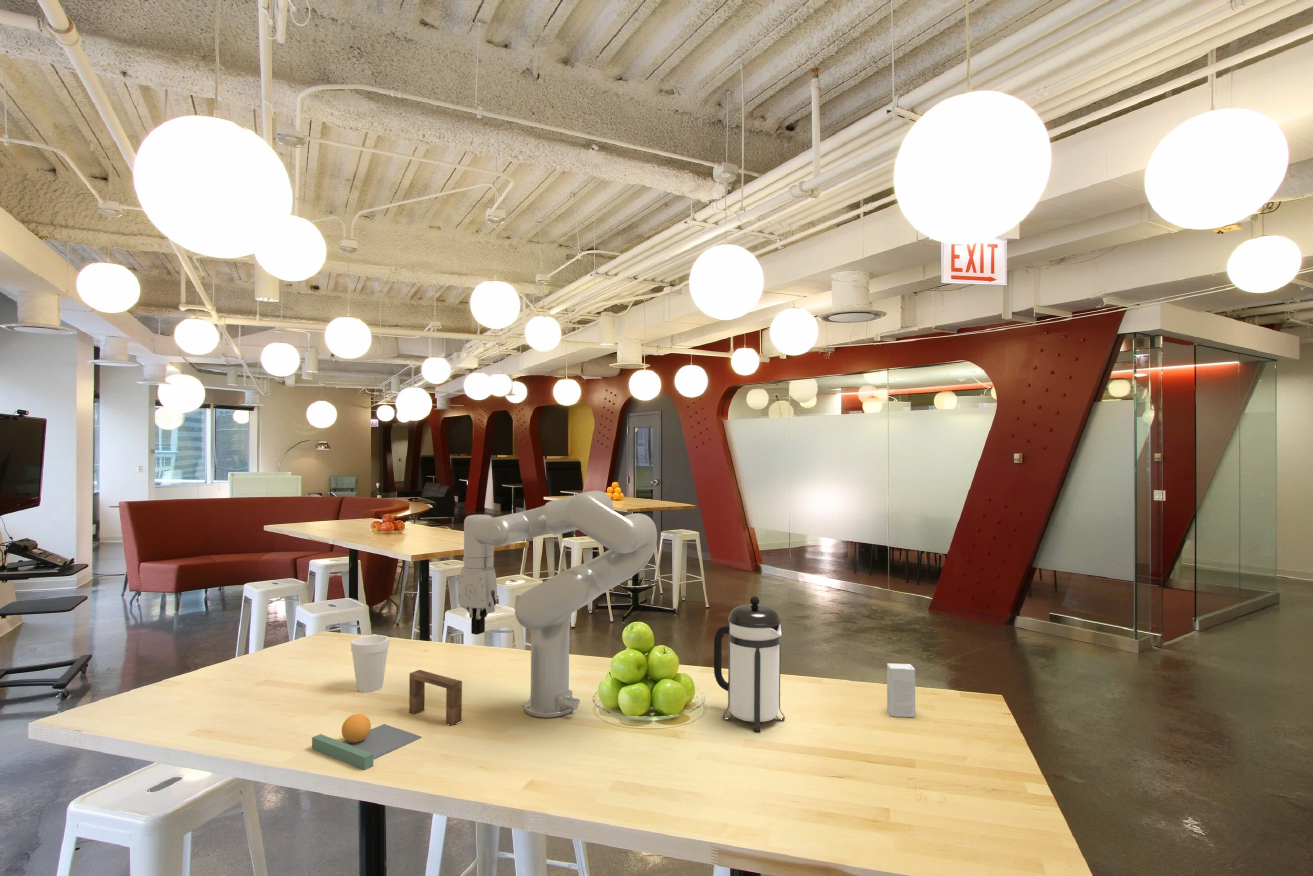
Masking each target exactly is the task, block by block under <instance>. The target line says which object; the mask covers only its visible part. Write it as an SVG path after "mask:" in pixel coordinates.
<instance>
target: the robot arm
mask: <svg viewBox="0 0 1313 876" xmlns="http://www.w3.org/2000/svg"><path fill="white" fill-rule="evenodd" d="M574 531H580V532H581V533H582V534H584V535H586V536H587V537H589V538H590V539H592V540H594V541H596V542H597V543H598V544H600V545H601V546H604V547H605V548H607V549H608V550H606V551H605V552H603V553H601V554H599V556H598V555H597V556H596V557H594V558H591V560H588V561H586V562H585V563H581V564H578V565H575V566H573V567H570V568H567V569H566V570H563V571H562V572H559V573H557V574H555V575H553V576H552V577H550V578H548V579H547V580H544V581H543V582H541V583H539V584H537V585H535V586H534V587H532V588H530V589H528V590H527V591H525V592H523V593H522V594H521V595H520V596H519V597H518V598H517V601H516V604H515V607H514V614H515V618H516V621H517V622H518V623H519V625H521V626H522V627H523V628H525V629H528V630H531V635H530V637H531V638H530V641H531V642H530V698H529V699H528V700H526V702H524V704H523V705H524V706H523V709H524V712H525V713H526V714H528V715H530V716H532V717H537V718H545V719H546V718H557V717H561V716H565V715H568V714H569V713H572V711H577V710H578V707H579V704H580V702H581V699H580V698H578V697H573V690H571V689H570V632H571V630H570V629H571V619H572V614H573V613H574V612H576V611H578V610H580V609H581V608H583V607H585V606H587V605H588V604H590V603H591V602H594V600H595V599H597V598H599V597H600V596H601V595H603V594H604V593H607V592H608V591H610V590H611V589H613V588H615V587H617V586H619V585H620V584H623V582H625V581H627V580H629V579H630V578H632V577H634V576H635V575H636V574H638V573H639V572H640V571H642V570H643V568H645V567H646V565H648V563H649V561H650V560H651V558H652V556H653V555H654V553H655V550H656V548H657V547H656V546H657V541H658V531H657V526H656V524H655V522H654V520H653V519H652V518H651V517H650V516H648V515H647V514H643V513H639V512H637V513H631V514H626V515H624V516H623V515H622V514H620V513H618V512H617V511H615V510H614V504H613V501H612V499H611V498H610V496H609V494H607V493H605V492H604V491H601V490H589V491H585V492H581V493H580V492H579V493H577V494H576V495H575V494H574V495H571V496H568V497H562V498H558V499H554V500H551V501H548V502H546V503H545V504H544V505H542V506H539V507H536V508H531V509H528V510H524V511H519V512H515V513H509V514H504V515H500V516H495V517H492V516H491V515H489V514H472V515H468V516H466V517H465V518H464V522H463V557H462V561H463V566H462V567H461V569H460V573H459V580H458V589H457V590H458V592H457V603H458V604H459V605H460V606H461V607H462V608H463V609H464V610H466V611H467V612H468V615H469V618H470V619H471V623H470V624H471V626H470V627H471V628H470V629H471V630H470V631H471V634H472V635H480V634H484V633H485V631H486V618H487V616H488V614H492V613H495V612H496V608H495V607H496V605H497V602H498V584H497V583H498V581H497V574H496V570H495V568H494V555H495V554H494V552H495V550H494V549H495V547H505V546H509V545H511V544H514V543H519V542H523V541H526V540H530V539H533V538H538V537H541V536H548V535H553V536H558V535H562V534H566V533H569V532H574Z"/></svg>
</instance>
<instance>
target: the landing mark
mask: <svg viewBox="0 0 1313 876" xmlns="http://www.w3.org/2000/svg"><path fill="white" fill-rule="evenodd" d="M421 738H422V736H421V735H418V734H416V733H412V732H410V731H407V730H403V729H400V728H397V727H394V726H391V725H388V724H386V723H383V724H381V725H379V726H376V727H373V728H371V729H370V732H369V734H368V736H367V737H366V738H365V739H364V740H362V741H360V742H357V743H351V742H348V741H346V740H345V739H344V740H340V742H343V743H346V744H348V745H351V746H354V747H356V748H359V749H362V750H364V751H367V752H370V753H372V754H373V760H376V759H378V758H380V757H382V756H385V755H386V754H388V753H390V752H393V751H395V750H397V749H399V748H402V747H404V746H406V745H408V744H411V743H414V742H415V741H417V740H419V739H421Z"/></svg>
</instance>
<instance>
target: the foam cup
mask: <svg viewBox="0 0 1313 876" xmlns="http://www.w3.org/2000/svg"><path fill="white" fill-rule="evenodd" d="M350 648H351V649H350V651H351V653H352V661H353V669H354V678H355V682H356V683H355V684H356V690H357V691H358V692H360V693H373V692H376V691H377V692H378V691H380V690H381V689H382V688H383V685H384V680H385V672H386V666H387V665H386V664H387V658H388V650H389V648H390V637H389V636H387V635H382V634H381V635H380V634H372V635H364V636H359V637H356V638H355V639H352V641H351V642H350Z"/></svg>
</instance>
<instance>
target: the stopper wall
mask: <svg viewBox="0 0 1313 876" xmlns="http://www.w3.org/2000/svg"><path fill="white" fill-rule="evenodd" d="M311 749H312V750H314V751H316V752H319V753H321V754H324V755H326V756H329V757H332V758H334V759H337V760H339V761H342V762H344V763H346V764H349V765H351V766H354V767H356V768H359V769H362V770H364V771H366V770H368V769H370V768H372V767H374V759H373V754H372V753H370V752H367V751H364V750H362V749H359V748H356V747H354V746H351V745H348V744H346V743H343V742H341V740H337V739H335V738H332V737H330V736H328V735H327V736H326V735H325V734H321V733H320V734H316V735H315V736H312V737H311Z"/></svg>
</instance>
